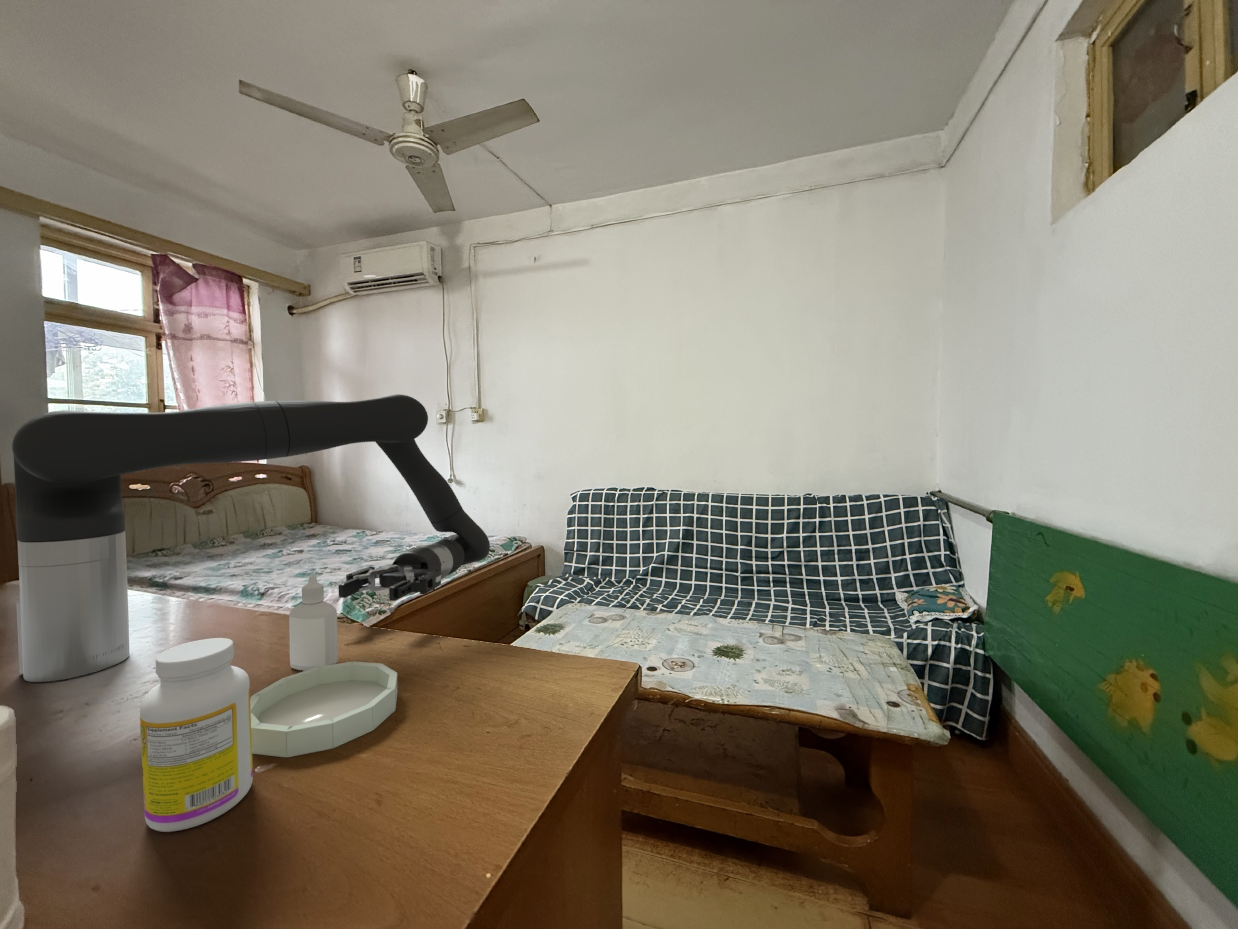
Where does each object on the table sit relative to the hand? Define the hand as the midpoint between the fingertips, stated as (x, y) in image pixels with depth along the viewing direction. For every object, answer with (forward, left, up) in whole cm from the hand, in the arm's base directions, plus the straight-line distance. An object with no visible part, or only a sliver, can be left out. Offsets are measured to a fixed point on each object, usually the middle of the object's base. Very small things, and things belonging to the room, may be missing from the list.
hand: (365, 593), depth 73 cm
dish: (+10, -20, -7) cm, 24 cm away
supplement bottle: (+10, -34, -7) cm, 36 cm away
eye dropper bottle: (0, -10, -7) cm, 12 cm away
